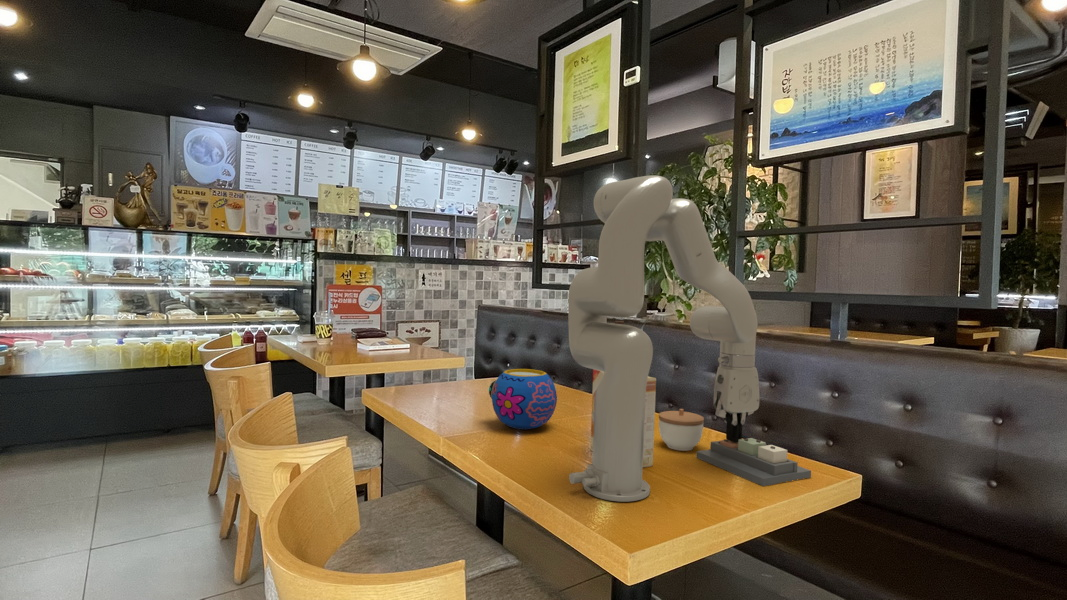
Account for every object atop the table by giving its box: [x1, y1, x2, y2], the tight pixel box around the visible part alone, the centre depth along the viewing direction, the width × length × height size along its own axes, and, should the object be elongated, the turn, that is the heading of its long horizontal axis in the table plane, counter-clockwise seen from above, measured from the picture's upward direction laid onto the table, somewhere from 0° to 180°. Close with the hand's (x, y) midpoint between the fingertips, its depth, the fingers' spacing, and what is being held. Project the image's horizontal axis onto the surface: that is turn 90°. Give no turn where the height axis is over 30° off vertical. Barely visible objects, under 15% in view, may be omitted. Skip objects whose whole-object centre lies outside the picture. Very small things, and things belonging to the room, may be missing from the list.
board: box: [696, 440, 812, 487], centre depth 122 cm, size 14×19×4 cm
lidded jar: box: [658, 408, 705, 452], centre depth 135 cm, size 11×11×9 cm
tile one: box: [758, 444, 788, 464], centre depth 117 cm, size 4×4×3 cm
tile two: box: [738, 437, 767, 456], centre depth 121 cm, size 4×4×3 cm
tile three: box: [719, 438, 738, 449], centre depth 126 cm, size 4×4×3 cm
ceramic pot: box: [488, 368, 558, 430], centre depth 148 cm, size 18×18×15 cm
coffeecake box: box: [589, 369, 657, 468], centre depth 125 cm, size 15×7×20 cm, turn 27°
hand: (733, 440), depth 127 cm, fingers closed
